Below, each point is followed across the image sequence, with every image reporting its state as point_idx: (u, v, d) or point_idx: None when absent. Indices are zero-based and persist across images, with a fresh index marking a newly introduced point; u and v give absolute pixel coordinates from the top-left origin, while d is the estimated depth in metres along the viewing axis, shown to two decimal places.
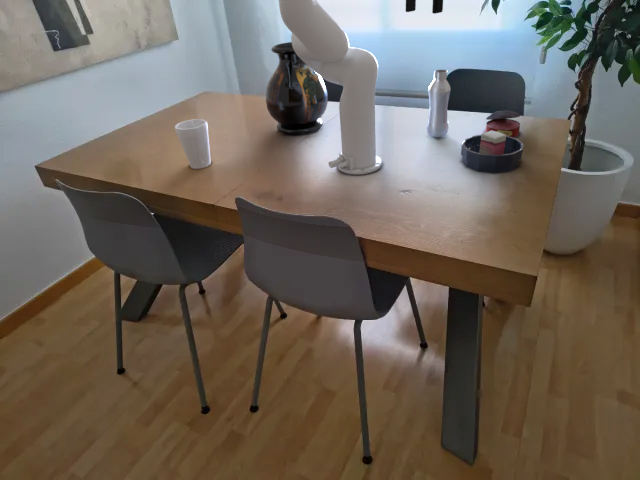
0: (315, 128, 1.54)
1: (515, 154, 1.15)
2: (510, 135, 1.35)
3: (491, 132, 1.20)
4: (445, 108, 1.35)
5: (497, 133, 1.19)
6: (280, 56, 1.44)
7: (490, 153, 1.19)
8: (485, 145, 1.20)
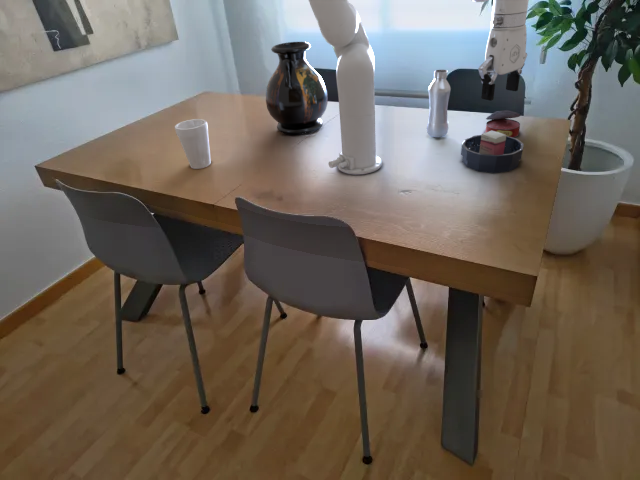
0: (315, 128, 1.54)
1: (515, 154, 1.15)
2: (510, 135, 1.35)
3: (491, 132, 1.20)
4: (445, 108, 1.35)
5: (497, 133, 1.19)
6: (280, 56, 1.44)
7: (490, 153, 1.19)
8: (485, 145, 1.20)
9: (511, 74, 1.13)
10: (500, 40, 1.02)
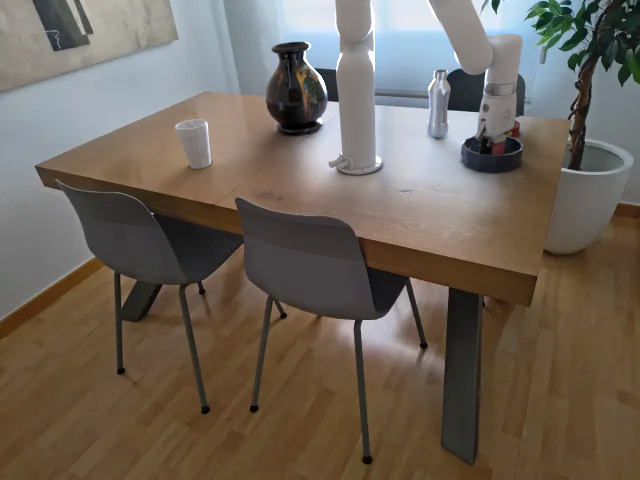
0: (315, 128, 1.54)
1: (515, 154, 1.15)
2: (510, 135, 1.35)
3: None
4: (445, 108, 1.35)
5: None
6: (280, 56, 1.44)
7: None
8: None
9: None
10: (491, 106, 1.11)
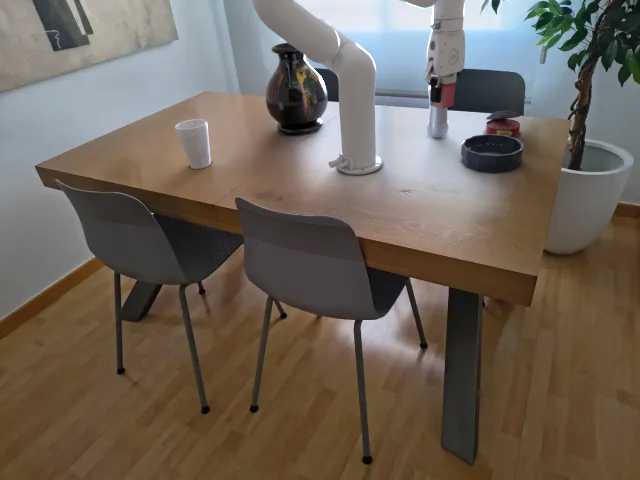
0: (315, 128, 1.54)
1: (515, 154, 1.15)
2: (510, 135, 1.35)
3: None
4: (445, 108, 1.35)
5: (447, 75, 1.17)
6: (280, 56, 1.44)
7: None
8: None
9: None
10: (438, 43, 1.09)
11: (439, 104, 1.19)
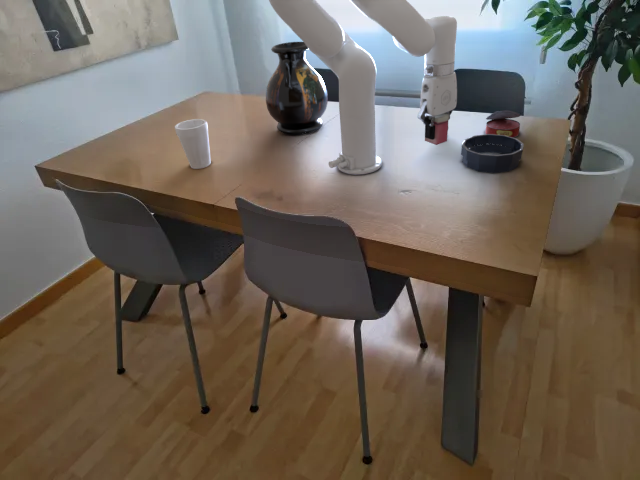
0: (315, 128, 1.54)
1: (515, 154, 1.15)
2: (510, 135, 1.35)
3: None
4: None
5: None
6: (280, 56, 1.44)
7: None
8: None
9: None
10: (430, 86, 1.15)
11: (434, 141, 1.25)
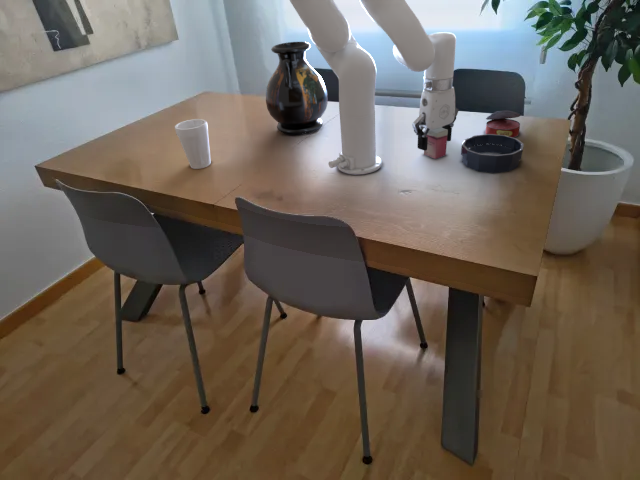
0: (315, 128, 1.54)
1: (515, 154, 1.15)
2: (510, 135, 1.35)
3: None
4: None
5: (439, 128, 1.26)
6: (280, 56, 1.44)
7: (433, 147, 1.26)
8: (429, 139, 1.26)
9: (445, 126, 1.28)
10: (429, 101, 1.17)
11: (433, 155, 1.27)
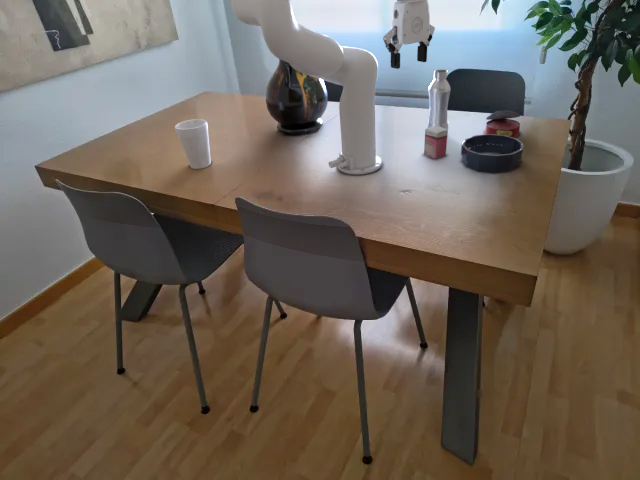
0: (315, 128, 1.54)
1: (515, 154, 1.15)
2: (510, 135, 1.35)
3: (434, 127, 1.27)
4: (445, 108, 1.35)
5: (439, 128, 1.26)
6: None
7: (433, 147, 1.26)
8: (429, 139, 1.26)
9: (420, 46, 1.23)
10: (400, 11, 1.13)
11: (433, 155, 1.27)
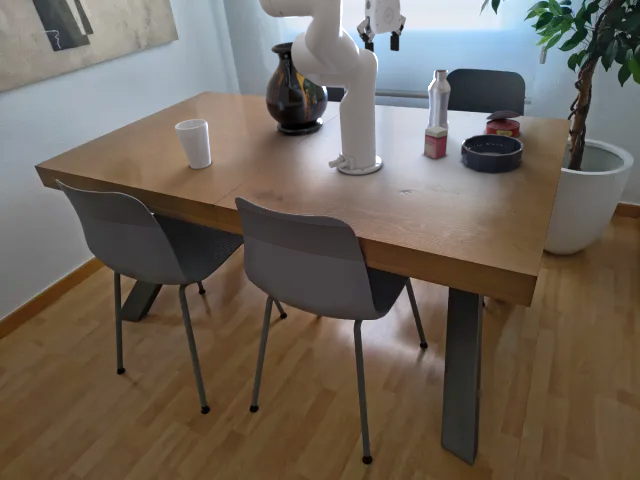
0: (315, 128, 1.54)
1: (515, 154, 1.15)
2: (510, 135, 1.35)
3: (434, 127, 1.27)
4: (445, 108, 1.35)
5: (439, 128, 1.26)
6: (280, 56, 1.44)
7: (433, 147, 1.26)
8: (429, 139, 1.26)
9: (393, 36, 1.29)
10: (372, 2, 1.18)
11: (433, 155, 1.27)
